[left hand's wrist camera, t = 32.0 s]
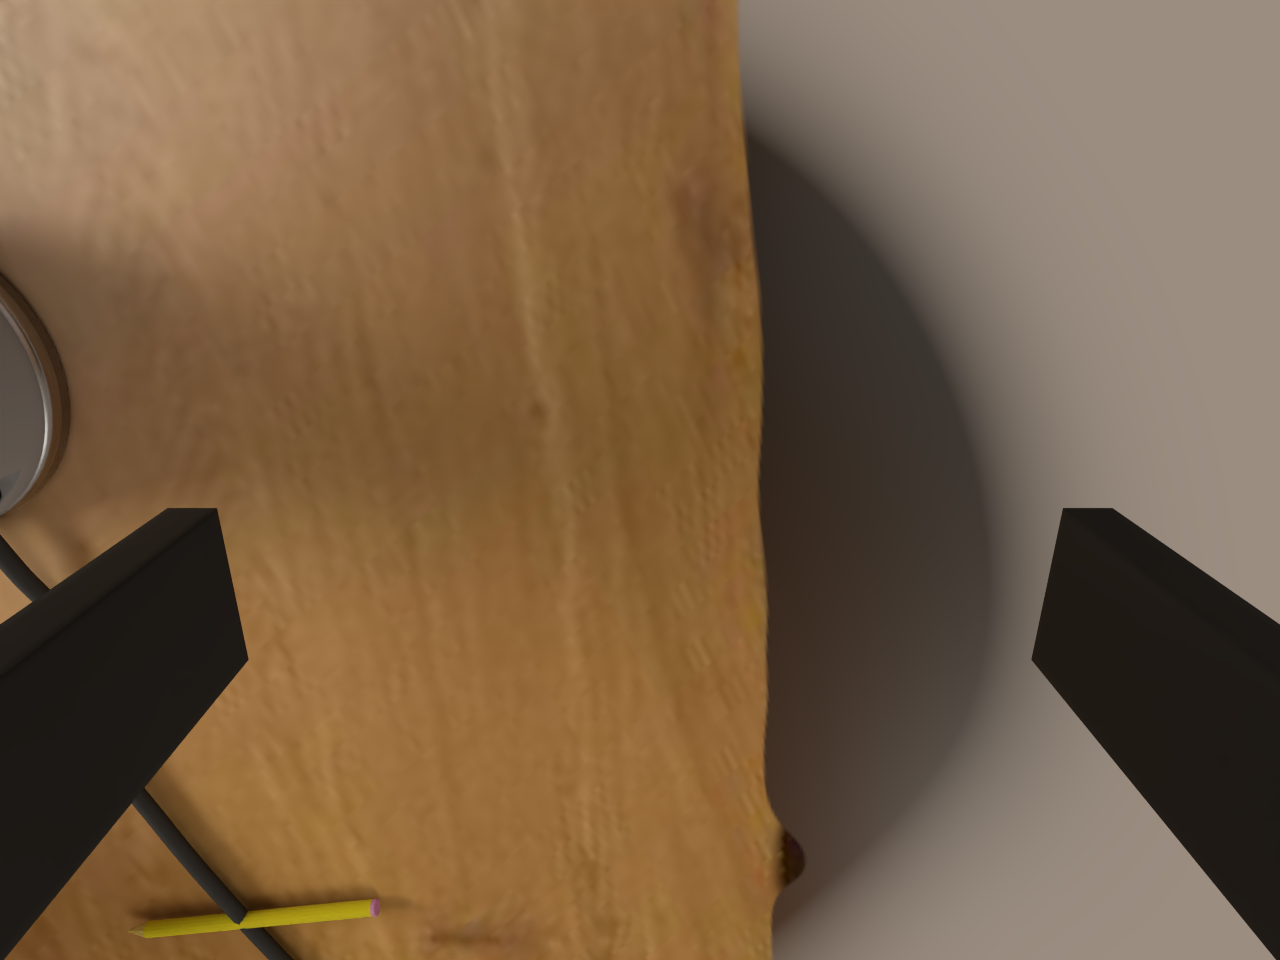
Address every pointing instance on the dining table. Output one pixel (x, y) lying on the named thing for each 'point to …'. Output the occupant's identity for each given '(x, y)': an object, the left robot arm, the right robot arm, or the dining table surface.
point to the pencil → (259, 918)
